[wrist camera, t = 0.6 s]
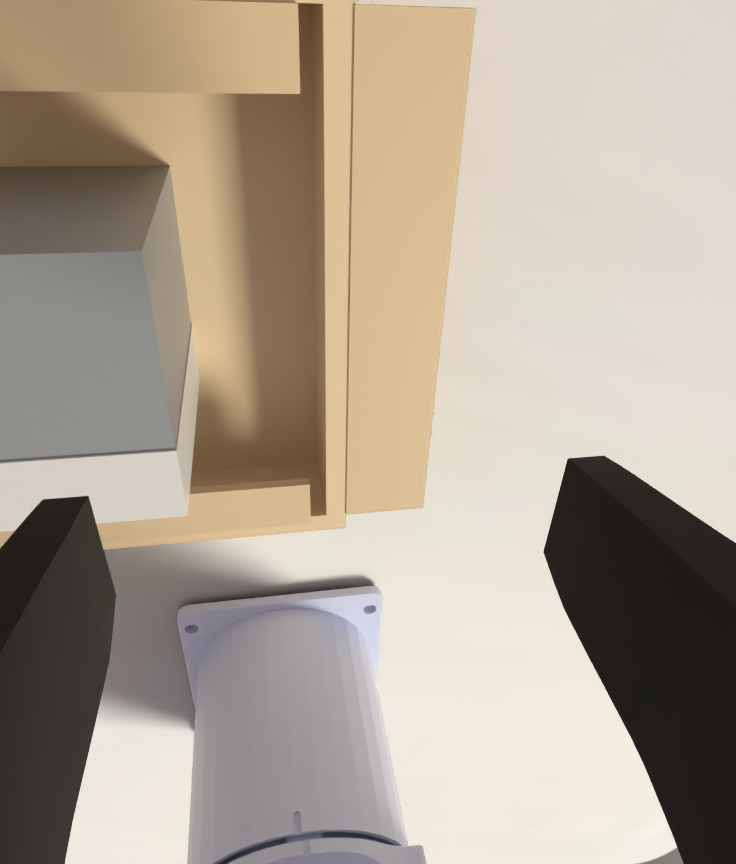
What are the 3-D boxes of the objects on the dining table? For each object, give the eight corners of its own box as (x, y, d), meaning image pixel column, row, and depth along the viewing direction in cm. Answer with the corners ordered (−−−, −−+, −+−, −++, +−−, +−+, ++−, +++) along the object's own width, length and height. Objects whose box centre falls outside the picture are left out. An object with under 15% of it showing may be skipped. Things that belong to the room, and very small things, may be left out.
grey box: (199, 378, 19) (187, 516, 15) (54, 386, 19) (-9, 532, 14) (170, 165, 16) (142, 252, 11) (-7, 166, 15) (-121, 258, 10)
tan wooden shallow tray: (401, 463, 23) (423, 527, 20) (-130, 504, 20) (-184, 583, 18) (439, -30, 15) (484, -29, 12) (-434, -65, 12) (-618, -74, 10)
